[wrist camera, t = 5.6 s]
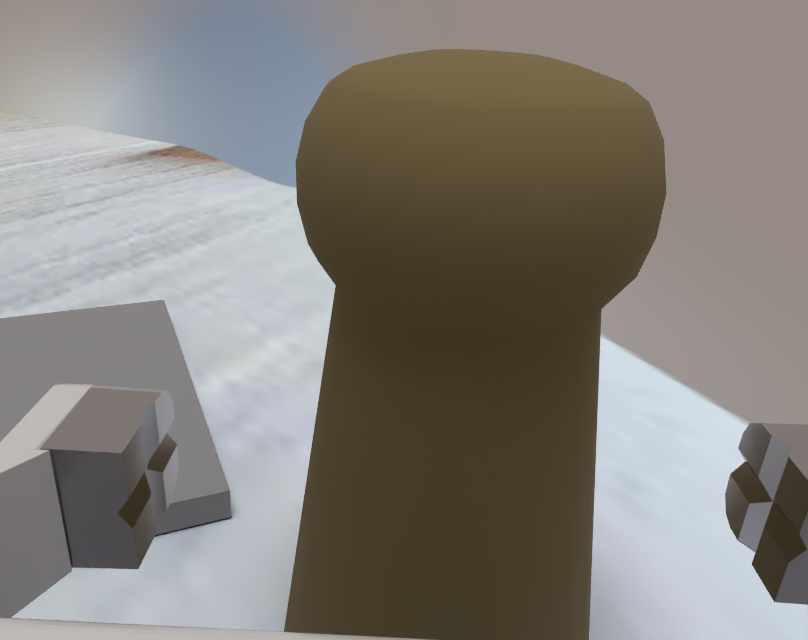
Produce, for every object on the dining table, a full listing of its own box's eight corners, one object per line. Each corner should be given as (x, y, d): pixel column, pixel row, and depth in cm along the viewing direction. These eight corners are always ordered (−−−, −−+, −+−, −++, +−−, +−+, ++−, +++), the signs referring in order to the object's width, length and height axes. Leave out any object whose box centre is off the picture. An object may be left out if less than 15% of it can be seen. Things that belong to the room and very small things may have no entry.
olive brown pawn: (443, 883, 10) (544, 94, 6) (219, 630, 14) (171, 37, 9) (645, 647, 14) (802, 71, 10) (428, 500, 18) (465, 37, 13)
